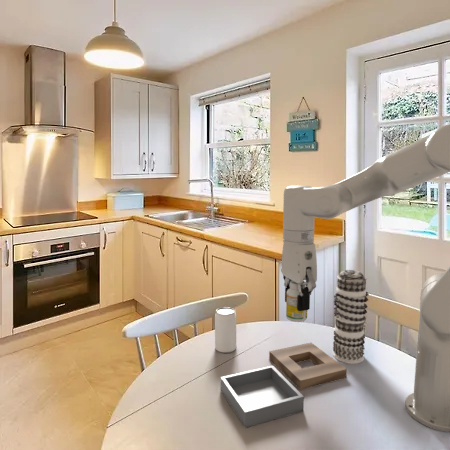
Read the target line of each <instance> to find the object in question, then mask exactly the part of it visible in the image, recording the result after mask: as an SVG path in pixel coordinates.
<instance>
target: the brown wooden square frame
mask: <svg viewBox="0 0 450 450" xmlns="http://www.w3.org/2000/svg"><path fill="white" fill-rule="evenodd" d="M268 352H269V354H268V355H269V357H268V358H269V361H270V362H271V363H272V364H273V366H274V367H275V366H276V367H275V368H276V369H277V370H278V371H279V372H281V373H282V374H283V375H284V376H285V377H286V378H288V379H289V381H291V382H292V384H294V385H295V386H296V387H297V389H298V390H300V391H302V390H305V389H309V388H313V387H318V386H321V385H324V384H328V383H332V382H336V381H340V380H344V379H348V377H347V376H348V375H347V373H348V369H347V367H345V366H344V365H342V364H341V363H339V361H338V360H337V359H334V357H331V355H329V354H327V353H326V352H325V351H323V350H322V349H321V348H319V347H318V346H316V345H315V344H314V343H312V342H306V343H302V344H297V345H293V346H287V347H283V348H279V349H273V350H269V351H268ZM306 361H310V362H312V363H313V364H314V365H312V366H309V367H304V368H302V367H301V366H300V365H299V364H298V363H302V362H306Z"/></svg>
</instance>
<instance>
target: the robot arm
mask: <svg viewBox="0 0 450 450" xmlns="http://www.w3.org/2000/svg"><path fill="white" fill-rule="evenodd" d="M448 173H450V123H449V124H445V125H442V126H440V127H439V128H437V129H435V131H433V132H432V133H431V134H428V135H427V136H425V137H424V136H423V138H421V139H418V140H416V141H414V142H412V143H409V144H408V145H406V146H404V147H401V148H400V149H397V150H395V151H393V152H391V153H388V154H386V155H384V156H382V157H380V158H378V159H377V160H376V161H375V162H374V163H373V164H371V165H370V166H368V167H367V168H365V169H363V170H362V171H360V172H358V173H356V174H353V175H352V176H349V177H347V178H346V179H343V180H340V181H339V182H336V183H333V184H328V185H325V186H319V187H312V186H310V185H289V186H287V187H285V188H284V190H283V207H282V208H283V209H282V210H283V217H282V218H283V219H282V220H283V221H282V226H283V227H282V242H283V244H282V245H283V246H282V251H281V253H282V254H281V270H280V271H281V274H282V276H283V278H282V279H283V280H284V283H283V286H284V302H285V303H286V300H287V290H288V289H290V286H289V285H290V281H291V280H292V281H294V282H296V283H298V290H299V295H297V310H298V311H304V310H307V311H309V310H310V307H311V306H310V305H311V303H310V302H311V295H312V292H313V291H314V289H316V288H317V284H316V283H317V281H318V263H317V261H318V260H317V250H316V244H315V243H314V242H315V218H318V219H319V218H320V219H325V220H329V219H330V220H331V219H335V218H337V217H338V216H340V215H342V214H345V213H347V212H349V211H351V210H353V209H355V208H358V207H360V206H363V205H365V204H368V203H371V202H373V201H375V200H378V199H380V198H384V197H389V196H394V195H396V194H399V193H402V192H405V191H406V190H409V189H412V188H414V187H418V185H421V184H424V183H426V182H429V181H430V180H433V179H436V178H438V177H440V176H444V175H446V174H448ZM303 281H304V282H303ZM302 285H306V287H305V288H304V289H303V287H302ZM419 300H420V301H419V317H418V319H419V320H418V331H417V344H416V356H415V357H416V358H415V370H414V371H415V372H414V382H413V383H414V384H413V392H412V393H410V394H409V395H407V397H406V398H405V400H404V406H405V407H404V408H405V409H406V411H407V413H408V414H409V415H410V416H411V417H412V418H413V420H415V421H418V422H419V423H420V424H422V425H423V426H426V427H429V428H431V429H434V430H436V431H442V432H445V433H446V432H448V433H450V266H448V267H447V269H446V270H445V271H444V272H439V273H435V274H433V275H431V276H430V277H428V278H427V279H426V280H425V282H424V283H423V285H422V287H421V289H420V299H419Z"/></svg>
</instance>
